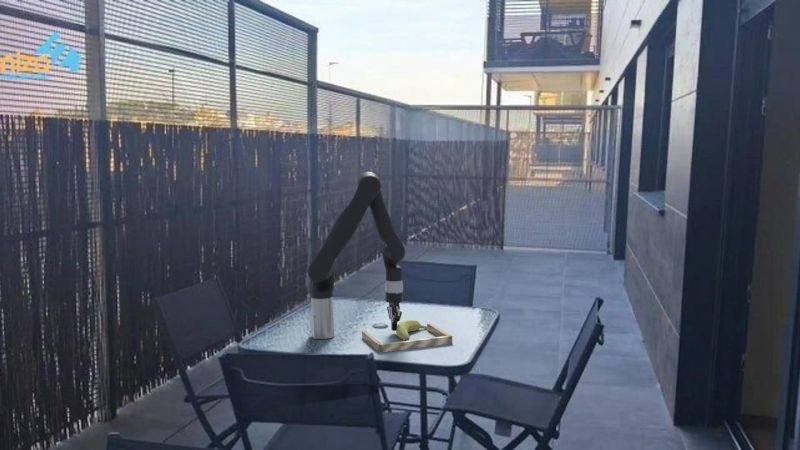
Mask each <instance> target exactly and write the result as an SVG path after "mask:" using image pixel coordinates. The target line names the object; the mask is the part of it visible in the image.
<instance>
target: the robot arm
mask: <svg viewBox="0 0 800 450" xmlns="http://www.w3.org/2000/svg"><path fill="white" fill-rule="evenodd" d="M381 188H382V184H381V178H379V176H378V174H376V173H374V172H372V171H365V172H362V173H361V174H360V176H359V178H358V180H357V188H356V190H355V192H354V195H353V197H352V199H351V200H350V201H349V203H348V205H346V207H344V209H343V210H342V212H340V214H339V216H338V217H337V218H336V220H335V221H334V224H333V225H332V227H331V229H330V231H329V232H328V235H327V236H326V239H325V240H324V243H323V245H322V247H321V248H320V250H319V252H318V253H317V255H316V256H315V258H314V259H313V260H312V262H311V263H309V266H308V269H307V275H308V278H309V280H310V281H312V287H311V291H310V299H311V300H310V301H311V303H310V304H311V314H310V328H311V329H310V331H311V332H310V333H311V337H312V338H313V339H314V340H327V339H332V338H334V337H335V318H334V316H335V313H334V294H333V293H334V289H335V271H334V263H335V261H336V259H337V258H338V256H339V255H340V253H341V252H342V251H343V250H344V249H345V248H346V247H347V246H348V244H349V243H350V242H351V239H352V238H353V236H355V233H356V231H357V229H358V228H359V226H360V224H361V222H362V220H363V218H364V216H365V214H366V212H367V210H368V208H370V211H371V215H372V217H373V218H372V219H373V222H374V225H375V229H376V231H377V234H378V236H379V239H380V240H381V242H383V243H384V244H385V245H384V247H383V250H382V259H383V263H384V267H385V286H384V287H385V288H384V289H385V292H384V294H385V295H384V296H385V303H388V306H386V310H387V315H388V319H389V320H390V323H391V326H390V328H391V330H392V331H393V332H396V330H397V326H398V322H400V320H401V318H402V314H403V312H402V311H400V310H401V306H400V303H402V302H403V301H404V283H403V268H402V266H400V265H399V263H398V262H401V261H403V260H404V259H405V256H406V249H405V246H404V244H403V243H402V241H401V239H400V237H399V236H398V235H397V232H396V230H395V227H394V224H393V221H392V219H391V216H390V213H389V212H388V209H387V207H386V205H385V202H384V199H383V196H382V191H381Z"/></svg>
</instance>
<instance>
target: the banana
mask: <svg viewBox="0 0 800 450" xmlns="http://www.w3.org/2000/svg"><path fill="white" fill-rule="evenodd" d="M420 329H424V330H426V329H427V325H422V324H421V323H420V322H419V321H418V320H415V319H412V320H411V319H409V320H402V321H401V322H400V321H399V323H397V330H396V331H395V334H396V336H397V337H398V339H401V341H405V340H406V341H409V340H411V339H410V334H409V333H410V332H416V331H419V330H420Z"/></svg>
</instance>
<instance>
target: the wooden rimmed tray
mask: <svg viewBox="0 0 800 450" xmlns="http://www.w3.org/2000/svg"><path fill="white" fill-rule="evenodd" d="M426 326H427V331H428V332H429V333H431V334H433V335H434V336H433V337H426V338H420V339H419V338H418V339H409V340H408V341H405V340H401V341H395V342H393V341H392V342H387V343H382V342H380V341H379V340H377V339H376V338H375V337H374V336H373V335H371V334H370V333H369V332H368V331H367V330H361V338H362V339H363V340H364V341H365V342H366V343H367V344H369V346H371V347H372V348H373V349H374V350H376V351H377V352H378V353H379V354H380V352H382V353H389V352H388V351H390V352H395V351H396V352H397V350H398V351H404V350H412V349H413V350H414V349H420V348H429V347H435V346H443V345H444V346H445V345H450V344H453V335H451V334H449V333H448V332H446V331H444V330H443V329H441V328H439V327H438V326H436V325H434V324H433V323H431V322H428V323H427V324H426ZM435 336H436V337H435Z"/></svg>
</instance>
